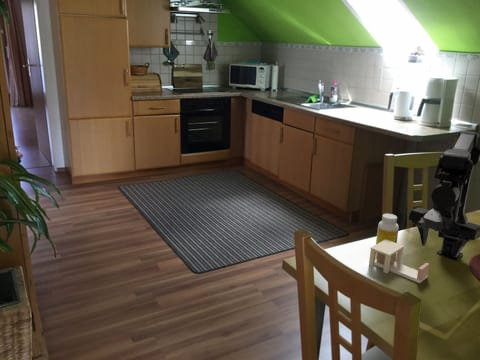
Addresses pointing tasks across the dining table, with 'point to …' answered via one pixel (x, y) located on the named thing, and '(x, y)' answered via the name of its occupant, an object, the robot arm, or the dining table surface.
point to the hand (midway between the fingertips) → (439, 251)
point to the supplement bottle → (387, 229)
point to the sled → (403, 268)
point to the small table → (386, 253)
